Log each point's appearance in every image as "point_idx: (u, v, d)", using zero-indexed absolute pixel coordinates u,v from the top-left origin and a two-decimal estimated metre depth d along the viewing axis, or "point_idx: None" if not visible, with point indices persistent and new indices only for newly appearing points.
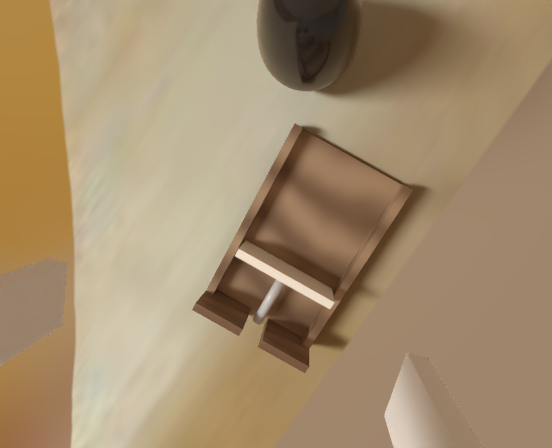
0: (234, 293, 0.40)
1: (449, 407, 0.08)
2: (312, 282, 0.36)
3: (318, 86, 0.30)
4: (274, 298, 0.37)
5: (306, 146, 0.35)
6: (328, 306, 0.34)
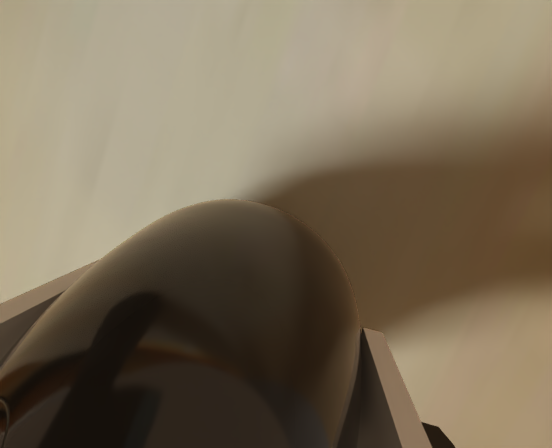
0: None
1: (390, 370, 0.09)
2: None
3: None
4: None
5: None
6: None
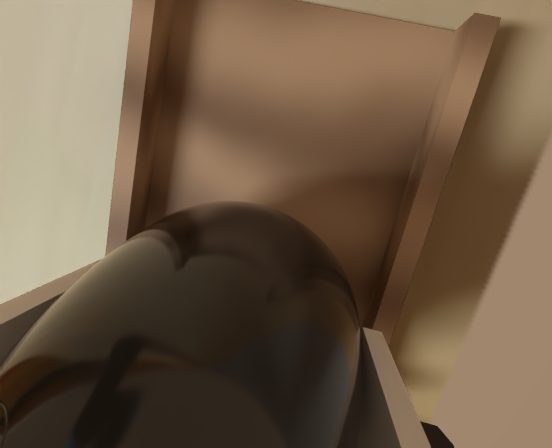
0: None
1: (389, 369, 0.09)
2: None
3: None
4: None
5: (199, 16, 0.15)
6: None
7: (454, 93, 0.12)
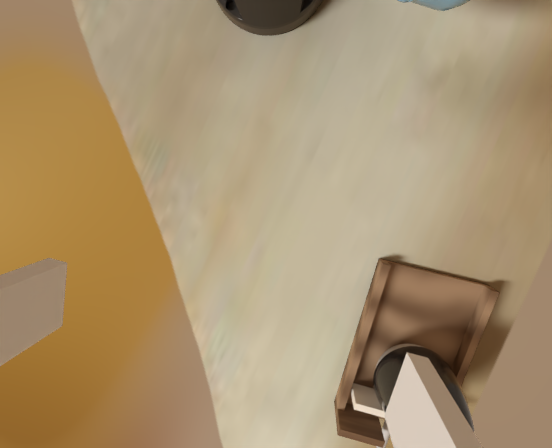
0: None
1: (449, 407, 0.08)
2: None
3: None
4: None
5: (393, 274, 0.41)
6: None
7: (484, 312, 0.39)
